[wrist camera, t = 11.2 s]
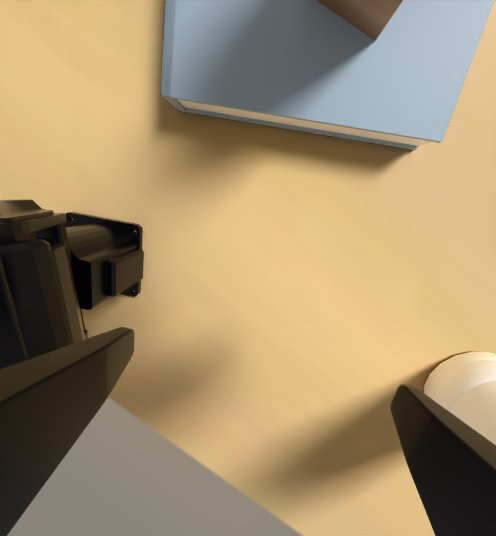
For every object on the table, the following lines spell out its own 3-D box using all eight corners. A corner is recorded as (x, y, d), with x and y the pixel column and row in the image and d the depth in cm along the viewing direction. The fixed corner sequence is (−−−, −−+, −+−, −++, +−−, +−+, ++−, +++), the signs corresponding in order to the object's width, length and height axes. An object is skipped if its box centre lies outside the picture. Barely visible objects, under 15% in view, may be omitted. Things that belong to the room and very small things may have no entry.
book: (178, 110, 18) (160, 95, 15) (195, -124, 14) (176, -203, 11) (413, 150, 17) (442, 141, 14) (493, -85, 14) (553, -159, 11)
